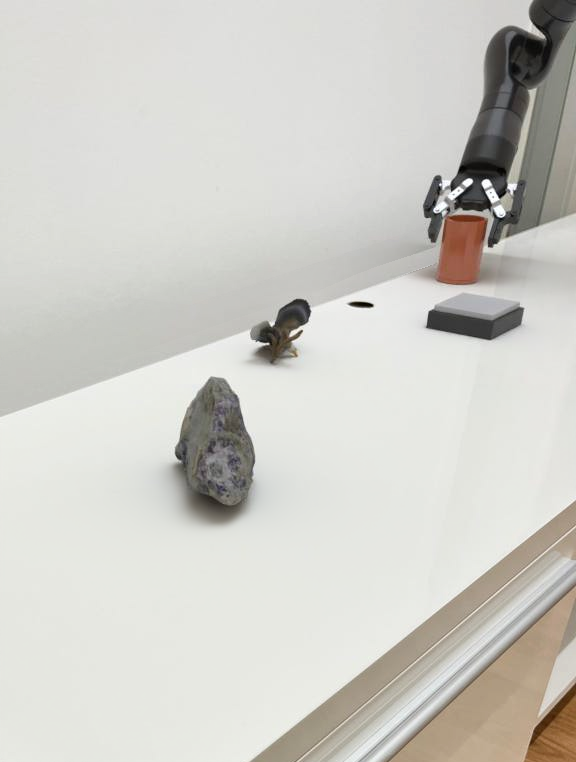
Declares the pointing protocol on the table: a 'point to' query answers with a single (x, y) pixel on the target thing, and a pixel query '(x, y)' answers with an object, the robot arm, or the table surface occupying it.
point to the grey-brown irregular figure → (283, 328)
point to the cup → (461, 249)
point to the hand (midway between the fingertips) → (461, 242)
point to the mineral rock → (216, 444)
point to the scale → (475, 315)
